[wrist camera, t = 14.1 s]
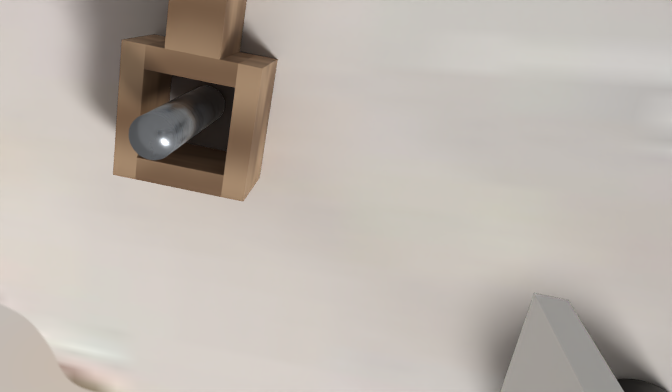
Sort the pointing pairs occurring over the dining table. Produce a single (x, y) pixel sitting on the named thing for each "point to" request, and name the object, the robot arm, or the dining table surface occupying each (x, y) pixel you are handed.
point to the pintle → (175, 122)
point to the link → (205, 65)
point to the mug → (638, 386)
